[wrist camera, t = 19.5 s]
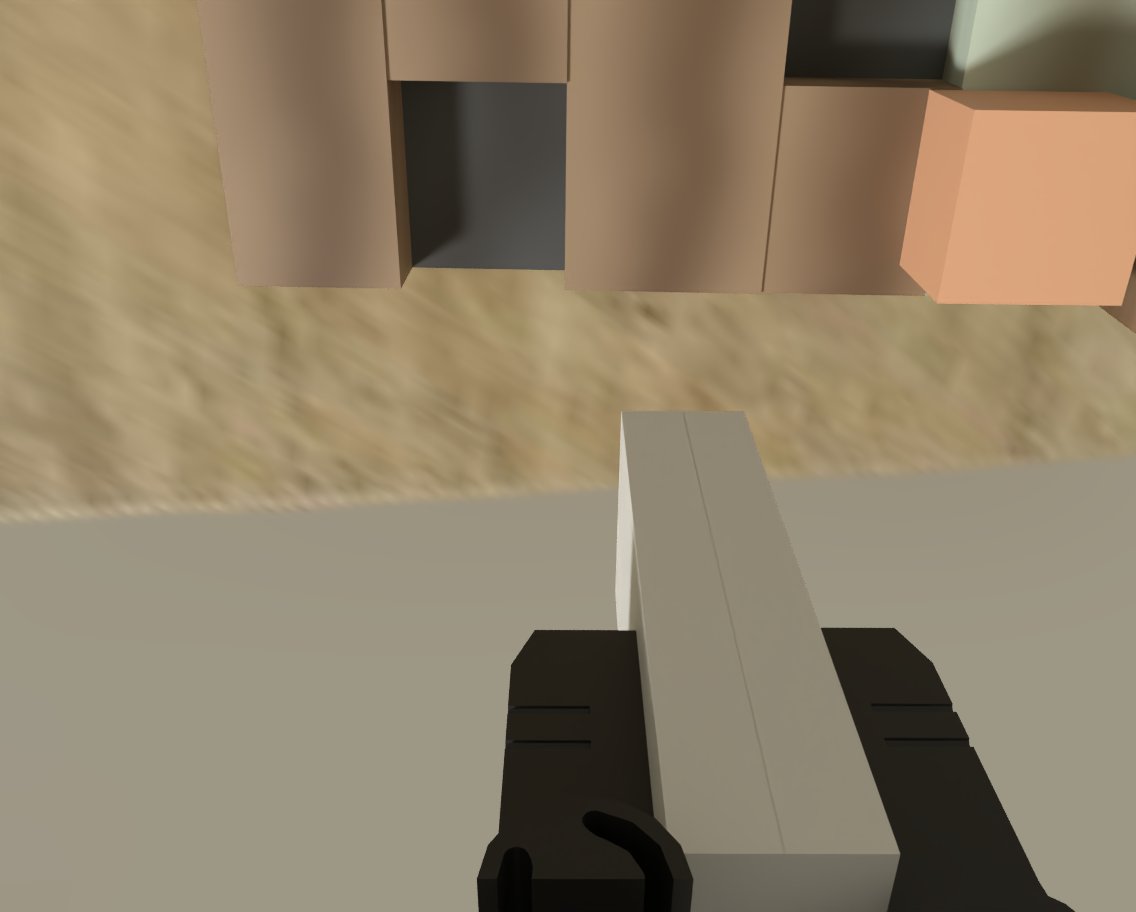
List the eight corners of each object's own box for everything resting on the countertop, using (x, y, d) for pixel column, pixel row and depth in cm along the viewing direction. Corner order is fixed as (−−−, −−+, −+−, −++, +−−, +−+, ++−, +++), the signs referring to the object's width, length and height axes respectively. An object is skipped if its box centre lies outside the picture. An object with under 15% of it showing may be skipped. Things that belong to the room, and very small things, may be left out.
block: (899, 264, 30) (937, 303, 27) (929, 89, 28) (974, 110, 25) (1065, 267, 30) (1121, 305, 27) (1108, 92, 28) (1176, 112, 25)
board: (260, 262, 33) (208, 314, 29) (203, -168, 27) (128, -186, 23) (1092, 278, 33) (1170, 333, 28) (1206, -156, 27) (1327, -172, 23)
